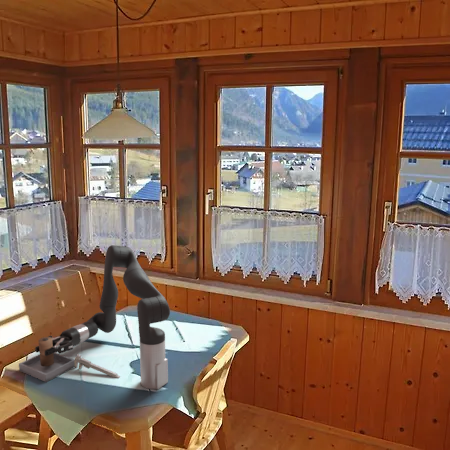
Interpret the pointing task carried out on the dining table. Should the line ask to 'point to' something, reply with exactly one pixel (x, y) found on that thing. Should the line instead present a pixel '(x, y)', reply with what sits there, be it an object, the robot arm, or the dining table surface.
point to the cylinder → (44, 345)
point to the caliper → (92, 366)
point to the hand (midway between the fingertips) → (40, 351)
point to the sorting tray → (47, 367)
